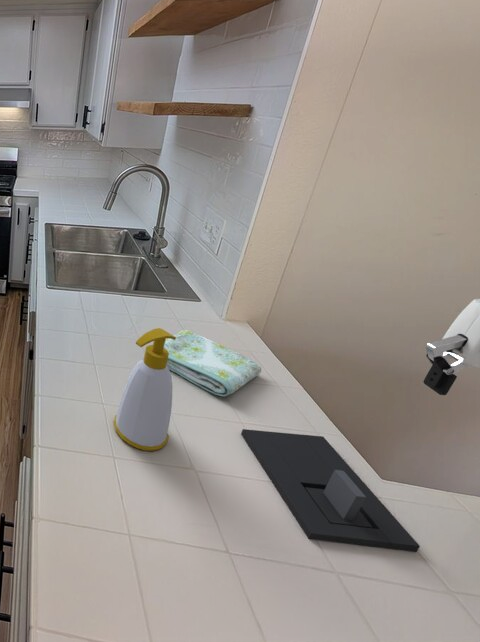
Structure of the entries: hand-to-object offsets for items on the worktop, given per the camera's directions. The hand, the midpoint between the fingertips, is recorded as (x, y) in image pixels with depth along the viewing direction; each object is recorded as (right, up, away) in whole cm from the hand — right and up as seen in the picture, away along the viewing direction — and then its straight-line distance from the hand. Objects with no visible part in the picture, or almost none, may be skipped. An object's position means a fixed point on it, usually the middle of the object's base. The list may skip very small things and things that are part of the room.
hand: (467, 391), depth 62 cm
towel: (-17, -9, +43) cm, 47 cm away
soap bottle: (-43, -17, +23) cm, 52 cm away
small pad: (-15, -24, +7) cm, 29 cm away
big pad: (-15, -22, +11) cm, 29 cm away
